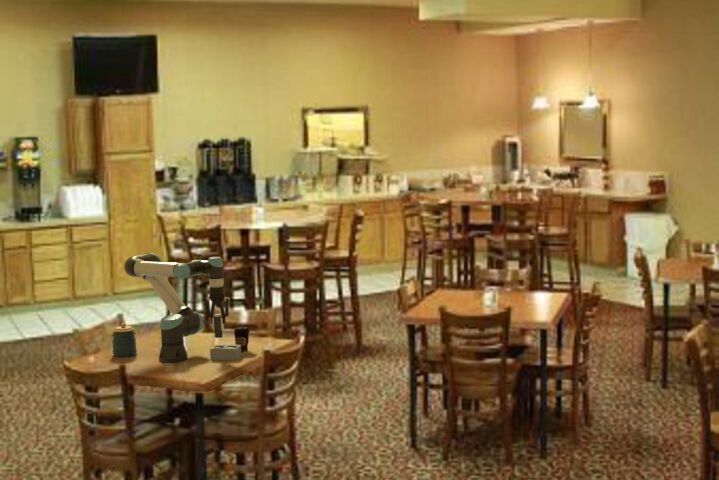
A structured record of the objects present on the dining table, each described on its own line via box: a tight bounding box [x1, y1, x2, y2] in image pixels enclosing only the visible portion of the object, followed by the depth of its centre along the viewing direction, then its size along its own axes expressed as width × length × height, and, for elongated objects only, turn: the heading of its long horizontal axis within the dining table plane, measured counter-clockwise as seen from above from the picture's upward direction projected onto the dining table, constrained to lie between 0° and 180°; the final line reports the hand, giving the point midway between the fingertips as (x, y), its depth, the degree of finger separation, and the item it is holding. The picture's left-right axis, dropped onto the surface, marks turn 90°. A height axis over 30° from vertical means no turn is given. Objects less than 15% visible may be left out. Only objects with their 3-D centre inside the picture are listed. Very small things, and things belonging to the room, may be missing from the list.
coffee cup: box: [233, 326, 250, 353], centre depth 551 cm, size 9×8×13 cm
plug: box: [214, 313, 223, 339], centre depth 536 cm, size 4×4×12 cm
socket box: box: [209, 344, 242, 361], centre depth 537 cm, size 14×10×6 cm
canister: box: [111, 322, 138, 358], centre depth 549 cm, size 13×13×18 cm
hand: (218, 329), depth 536 cm, fingers closed on plug, 4 cm apart
